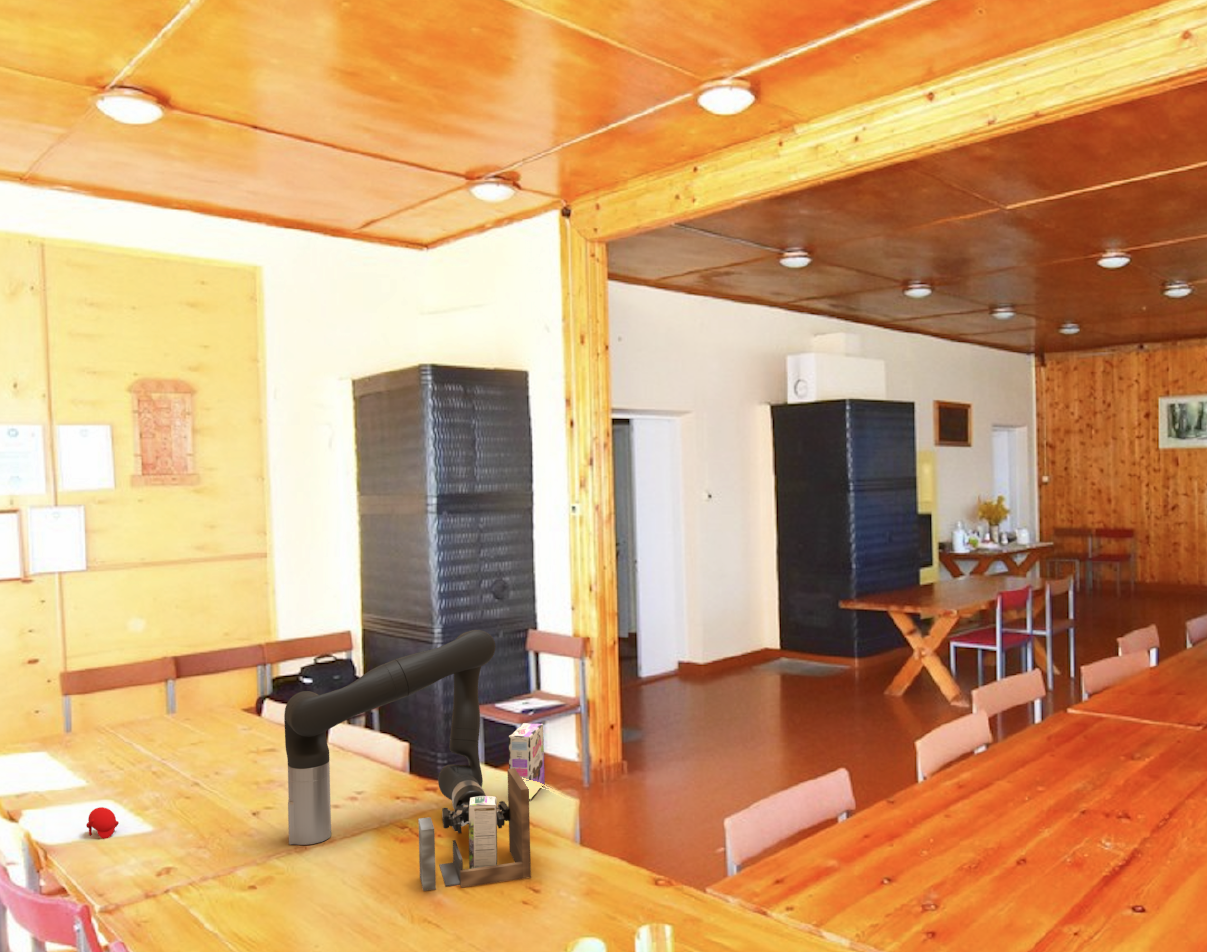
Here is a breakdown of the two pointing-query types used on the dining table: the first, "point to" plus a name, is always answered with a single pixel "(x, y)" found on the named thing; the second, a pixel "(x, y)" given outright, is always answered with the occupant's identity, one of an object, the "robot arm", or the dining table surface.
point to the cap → (102, 822)
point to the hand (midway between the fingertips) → (480, 826)
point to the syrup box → (482, 831)
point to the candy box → (527, 752)
